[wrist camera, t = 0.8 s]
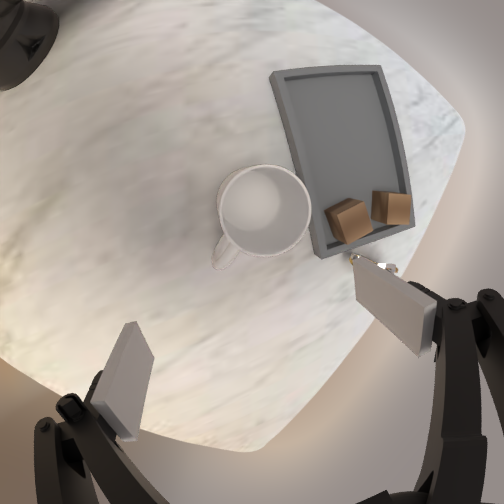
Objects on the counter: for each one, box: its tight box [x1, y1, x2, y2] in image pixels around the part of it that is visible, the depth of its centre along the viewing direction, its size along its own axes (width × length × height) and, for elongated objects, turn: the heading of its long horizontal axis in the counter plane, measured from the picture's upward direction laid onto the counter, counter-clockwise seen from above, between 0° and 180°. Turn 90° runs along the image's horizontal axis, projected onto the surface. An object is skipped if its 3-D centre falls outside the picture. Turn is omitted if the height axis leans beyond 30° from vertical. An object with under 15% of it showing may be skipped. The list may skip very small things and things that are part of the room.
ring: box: [349, 253, 398, 274], centre depth 34 cm, size 7×3×8 cm, turn 68°
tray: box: [269, 65, 415, 259], centre depth 32 cm, size 24×16×2 cm, turn 15°
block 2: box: [371, 191, 411, 225], centre depth 34 cm, size 4×4×4 cm
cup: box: [212, 164, 311, 270], centre depth 29 cm, size 8×12×10 cm
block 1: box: [324, 198, 373, 245], centre depth 33 cm, size 4×4×4 cm
